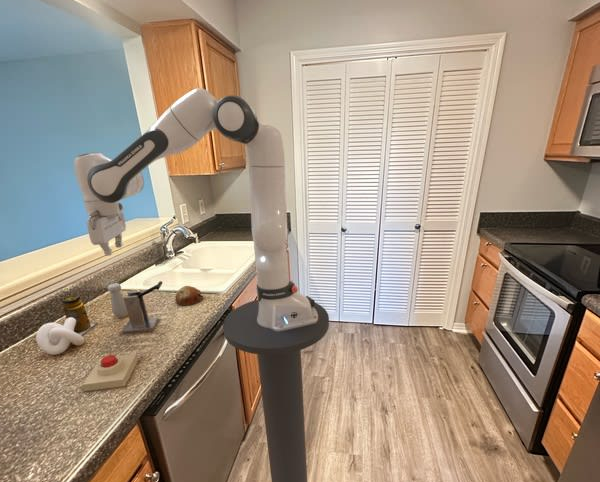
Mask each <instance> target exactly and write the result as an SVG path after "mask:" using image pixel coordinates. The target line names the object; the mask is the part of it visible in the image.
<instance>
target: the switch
mask: <svg viewBox="0 0 600 482" xmlns="http://www.w3.org/2000/svg"><path fill="white" fill-rule="evenodd" d="M162 285H163V281H162V280H160V281H158V283H157V284H155V285H153V286H151V287H150V288H148V289H145V290H144V291H143V292H142V293H140V294H139V295H137V294H136V293H135V294H134V295H132V296H138V298H139V300H140V297H142V296H143V297H144V296H146V295H148V294H149V293H151V292H153V291H156V290H157V291H158V290H160V288H161V287H162Z"/></svg>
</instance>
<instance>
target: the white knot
mask: <svg viewBox="0 0 600 482" xmlns="http://www.w3.org/2000/svg"><path fill="white" fill-rule="evenodd" d="M75 324H76V319H74V318H72V317H70V318H66V319H65V320H64V322H63V324H60V323H58V322H46V323H44V324H43V325H42V326H40V327H39V328H38V329H37V332H36V336H35V339H36V343H37V346H38V348H39V349H40V350H41V351H42V352H44V353H45V354H47V355H52V356H53V355H54V356H55V355H60V354H63V353H64V352H66V350H67V349H68V348H69V347H70V344H72V345H74V346H79V347H80V346H82V345H84V343H85V338H84V336H83V335H79V334H77V333H76V332H74V327H75Z"/></svg>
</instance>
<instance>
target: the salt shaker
mask: <svg viewBox="0 0 600 482" xmlns="http://www.w3.org/2000/svg"><path fill="white" fill-rule="evenodd" d="M106 289H107V291H108V292H109V293H110V301H111V302H110V303H111V313H112V314H113V315H114V316H115V317H116V318H117V319H124V318H126V317H127V316H128V312H127V309H126V305H125V302H124V297H125V296H124V295H123V294H122V291H121V290H122V286H121V284H120V283H118V282H115V283H110V284H109V285H108V286H107V288H106ZM128 317H129V316H128Z"/></svg>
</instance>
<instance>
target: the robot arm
mask: <svg viewBox="0 0 600 482" xmlns="http://www.w3.org/2000/svg"><path fill="white" fill-rule="evenodd" d="M212 131H218V132H219V134H221V135H222V136H223V137H224V138H226V139H228V140H230V141H232V142H237V143H241V144H244V145H245V147H246V150H247V156H248V157H247V158H248V175H249V177H248V178H249V196H250V198H249V199H250V222H251V236H252V237H251V238H252V240H253V249H254V263H255V272H256V273H255V274H256V282H257V284H256V296H257V297H256V298H257V300H259V309H258V317H257V323H258V324H259V325H261V326H263V327H266V328H270V329H272V330H274V331H276V332H280V331H284V330H289V329H293V328H298V327H302V326H307V325H311V324H315V323H317V321H318V313H317V311H316V310H315V308H314V307H313V306H315V303H316V301H315V299H313V298H312V297H310V296H308V295H304V294H302V293H301V292H299V290H298V289H299V288H298V287H297V285H296V283H294V281H293V280H290V277H289V275H290V273H289V261H288V260H289V259H288V252H287V242H286V241H287V239H288V214H287V213H288V212H287V196H286V195H287V193H286V156H285V146H284V141H283V135H282V133H281V131H280V130H279V129H278V128H277V127H275V126H272V125H269V124H268V125H267V124H262V123H260V122H259V120H258V117H257V114H256V112H255V110H254V108H253V107H252V106H251V104H249V103H248V101H246V100H245V99H244V98H242V97H241V96H238V95H231V94H229V95H225V96H223V97H222V98H220V99H218V100H217V99H216V98H215V96H214V95H213V94H212V93H211V92H210V91H209V90H207V89H205V88H203V87H196V88H194V89H192V90H190V91H189V92H186V93H185V94H184V95H182V96H181V97H179V98H178V99H177V100H176V101H174V102H173V103H172V104H171V105H170V106H169V107H168V108H167V109H166V110H165V111H164V112H163V113H162V114H161V115H160V116H159V117H158V118H157V119H156V121H155V122H154V123H152V124H151V126H150V127H149V128H148V129H147V130H146V131H145V132H144V133H143V134H142V135H141V136H140V137H138V138H137V139H136V140H135V141H134V142H132V143H131V144H130V145H129V146H128V147H127V148H125V149H124V150H122V152H120V153H119V154H118V155H117V156H115V158H113V159H112V158H109V157H107V156H106V155H104V154H103V153H101V152H89V153H83V154H80V155H78V156H76V157H75V158H74V160H73V161H74V162H73V164H74V165H73V166H74V172H75V176H76V180H77V184H78V187H79V188H80V190H81V192H82V200H83V203H84V207H85V210H86V213H87V217H89V218H88V219H87V220H86V221H87V222H86V226H87V227H86V228H87V232H88V236H89V239H90V242H91V244H92V245H93V246H98V245H99V247H100V248H101V249H102V251H103V253H104V255H105V256H106V257H108V256H111V255H113V249H112V248H111V247H110V243H109V242H110V241H112V240H113V239H114V240H115V242H114V245H115V248H118V249H119V248H122V247H123V246H124V245H123V234H122V233H123V232H125V231H126V227H127V225H126V220H125V215H124V212H123V210H124V205H123V203H122V202H119V201H121V200H123V199H126V198H130V197H133V196H136V195H137V194H139V193H141V192H142V190H143V189H144V187H145V179H144V176H143V173H142V172H143V171H144V170H146V169H147V168H148V167H149V166H150V165H151V164H152V163H154V162H156V161H158V160H161V159H163V158H166V157H171V156H174V155H179V154H182V153H184V152H185V151H188V150H189V149H191V148H193V146H195V145H196V144H197V143H198V142H200V141H201V140H202V139H203V138H204V137H205V136H206V135H208V134H209V133H210V132H212Z"/></svg>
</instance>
